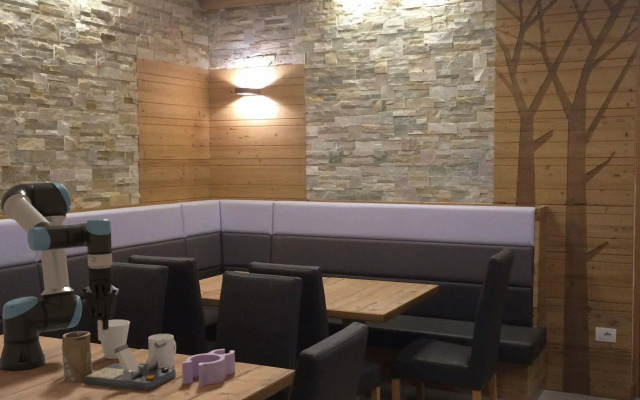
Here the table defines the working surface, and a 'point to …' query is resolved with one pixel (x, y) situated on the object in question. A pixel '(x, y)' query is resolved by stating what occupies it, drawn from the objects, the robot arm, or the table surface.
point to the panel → (130, 377)
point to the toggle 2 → (155, 353)
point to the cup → (115, 337)
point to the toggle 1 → (127, 359)
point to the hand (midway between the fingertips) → (102, 339)
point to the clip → (209, 367)
